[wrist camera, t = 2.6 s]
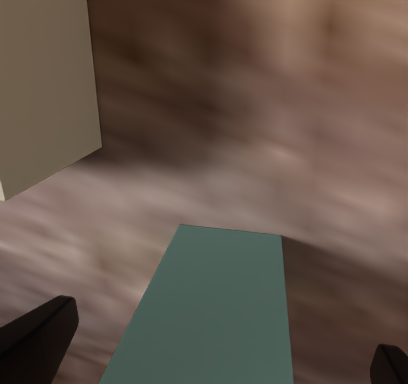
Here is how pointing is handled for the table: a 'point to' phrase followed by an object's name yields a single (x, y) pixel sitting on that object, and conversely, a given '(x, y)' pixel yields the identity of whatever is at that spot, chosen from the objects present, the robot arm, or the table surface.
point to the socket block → (45, 91)
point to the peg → (210, 314)
